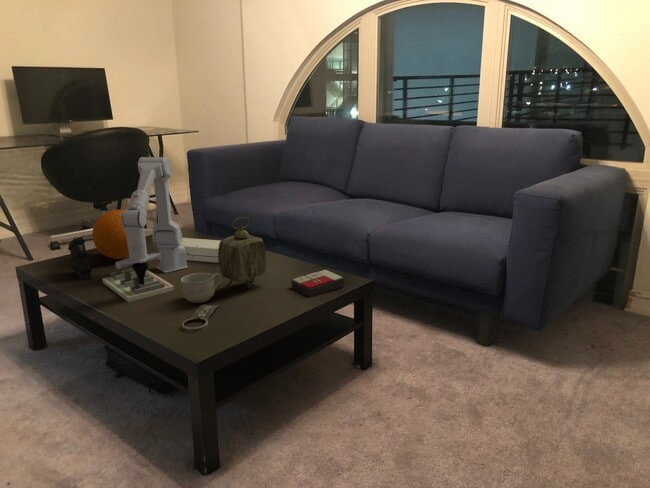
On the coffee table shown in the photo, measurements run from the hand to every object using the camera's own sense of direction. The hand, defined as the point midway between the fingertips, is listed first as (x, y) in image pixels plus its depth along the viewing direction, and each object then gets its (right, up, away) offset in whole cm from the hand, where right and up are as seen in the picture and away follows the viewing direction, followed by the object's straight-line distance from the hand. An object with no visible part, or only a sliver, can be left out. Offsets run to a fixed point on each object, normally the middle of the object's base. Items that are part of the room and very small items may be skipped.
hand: (141, 283), depth 184 cm
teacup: (+22, -5, -3) cm, 22 cm away
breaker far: (-12, +1, +13) cm, 18 cm away
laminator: (+14, +8, +41) cm, 44 cm away
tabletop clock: (+34, -2, +7) cm, 35 cm away
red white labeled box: (+59, -2, +6) cm, 60 cm away
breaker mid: (-7, 0, +7) cm, 9 cm away
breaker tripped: (-1, -2, 0) cm, 3 cm away
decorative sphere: (-22, +8, +40) cm, 46 cm away
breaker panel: (-4, -1, +9) cm, 10 cm away
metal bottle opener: (+24, -10, -17) cm, 31 cm away
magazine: (-30, +2, +21) cm, 36 cm away
